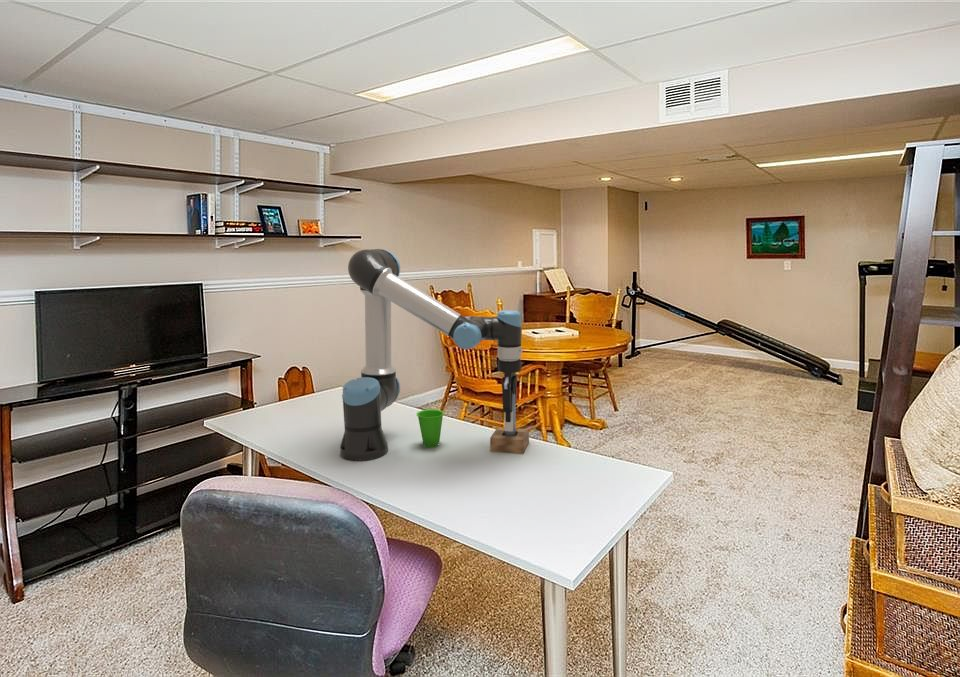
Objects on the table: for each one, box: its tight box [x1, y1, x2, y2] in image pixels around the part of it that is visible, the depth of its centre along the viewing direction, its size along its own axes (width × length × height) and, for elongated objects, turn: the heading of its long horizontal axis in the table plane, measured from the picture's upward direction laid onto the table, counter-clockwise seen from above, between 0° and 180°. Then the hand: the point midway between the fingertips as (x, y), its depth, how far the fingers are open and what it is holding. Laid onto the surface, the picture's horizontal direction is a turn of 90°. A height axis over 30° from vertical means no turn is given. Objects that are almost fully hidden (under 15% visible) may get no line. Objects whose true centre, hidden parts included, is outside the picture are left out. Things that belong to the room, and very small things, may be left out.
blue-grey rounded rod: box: [505, 394, 517, 436], centre depth 181 cm, size 4×4×16 cm
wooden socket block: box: [489, 426, 530, 455], centre depth 182 cm, size 11×11×4 cm
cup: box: [416, 408, 445, 448], centre depth 184 cm, size 9×9×11 cm
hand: (509, 428), depth 182 cm, fingers closed on blue-grey rounded rod, 3 cm apart
